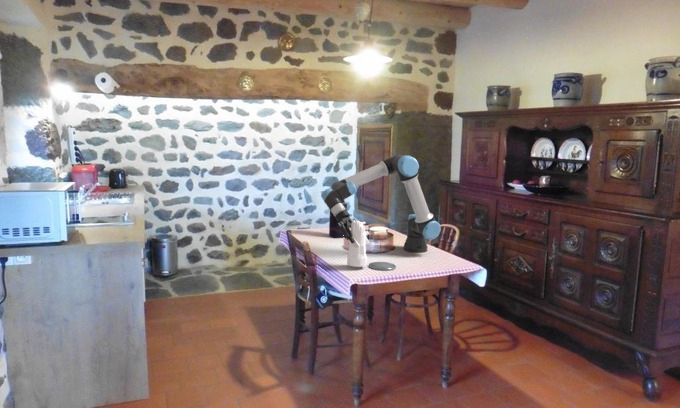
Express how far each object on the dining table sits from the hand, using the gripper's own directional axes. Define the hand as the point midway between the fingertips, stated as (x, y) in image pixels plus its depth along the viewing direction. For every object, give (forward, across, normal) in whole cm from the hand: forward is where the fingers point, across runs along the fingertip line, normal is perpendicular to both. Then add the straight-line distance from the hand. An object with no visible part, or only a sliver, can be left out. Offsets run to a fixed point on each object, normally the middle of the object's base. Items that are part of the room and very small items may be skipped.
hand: (363, 245), depth 262 cm
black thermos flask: (-33, -55, -52) cm, 83 cm away
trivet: (+13, -11, -5) cm, 18 cm away
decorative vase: (+5, 0, -10) cm, 12 cm away
